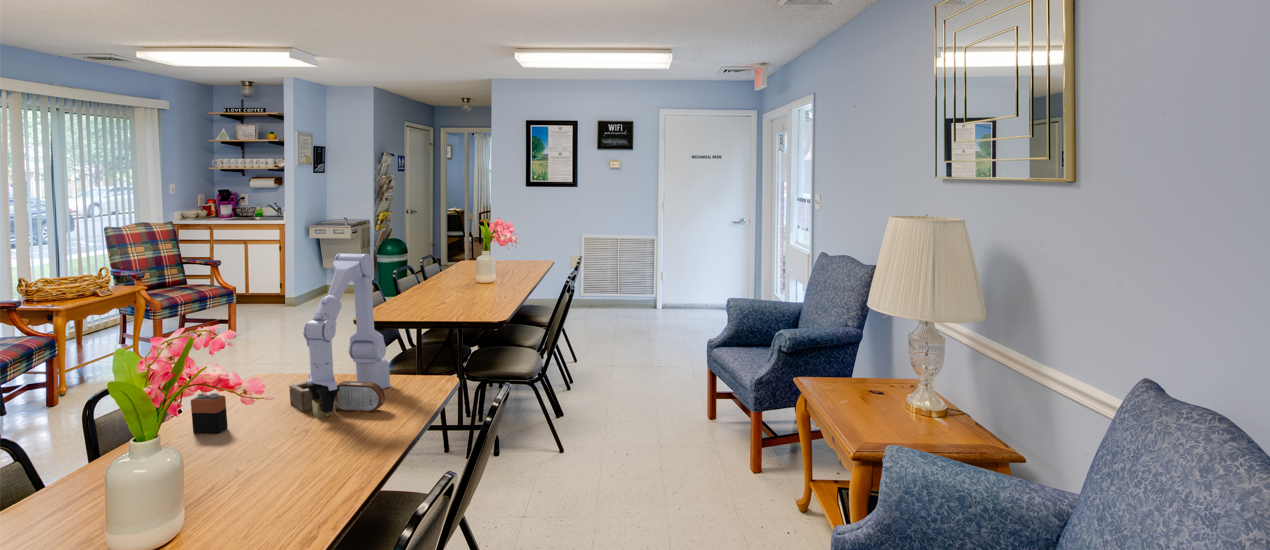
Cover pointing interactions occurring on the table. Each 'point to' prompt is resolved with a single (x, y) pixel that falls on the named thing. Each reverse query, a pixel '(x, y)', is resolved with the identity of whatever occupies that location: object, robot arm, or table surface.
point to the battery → (209, 413)
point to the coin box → (301, 396)
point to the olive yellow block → (320, 409)
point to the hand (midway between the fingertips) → (324, 409)
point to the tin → (359, 396)
